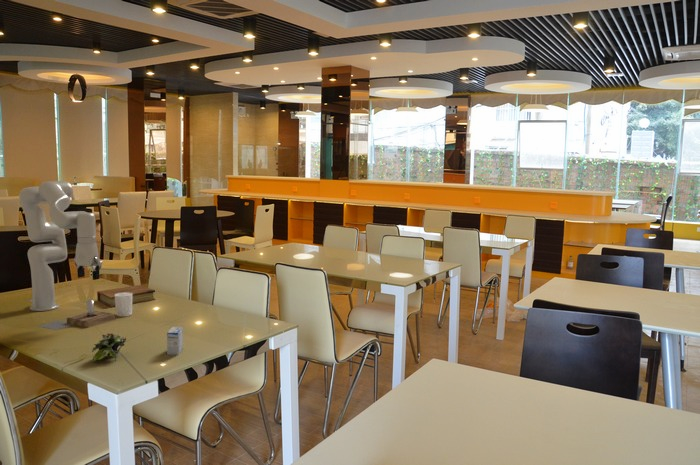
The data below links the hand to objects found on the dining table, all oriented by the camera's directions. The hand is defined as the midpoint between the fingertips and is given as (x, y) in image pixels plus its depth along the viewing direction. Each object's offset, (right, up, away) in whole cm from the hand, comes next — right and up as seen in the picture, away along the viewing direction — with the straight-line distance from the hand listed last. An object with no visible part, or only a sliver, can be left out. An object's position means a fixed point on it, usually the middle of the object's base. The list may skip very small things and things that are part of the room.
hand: (88, 278), depth 252 cm
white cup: (+10, -19, +15) cm, 26 cm away
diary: (0, -16, +44) cm, 46 cm away
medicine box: (+50, -25, -36) cm, 67 cm away
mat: (-12, -21, -4) cm, 24 cm away
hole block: (0, -20, +2) cm, 20 cm away
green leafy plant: (+29, -26, -45) cm, 59 cm away
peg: (0, -20, +2) cm, 20 cm away
